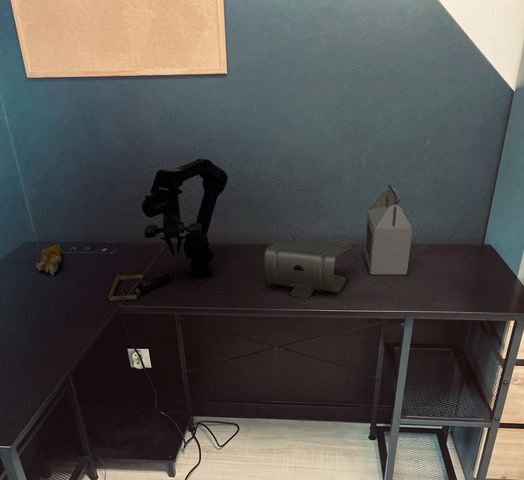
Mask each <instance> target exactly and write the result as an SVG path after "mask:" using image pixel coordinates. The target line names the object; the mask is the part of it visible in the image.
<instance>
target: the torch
mask: <svg viewBox="0 0 524 480" xmlns="http://www.w3.org/2000/svg"><path fill="white" fill-rule="evenodd" d="M41 251H42V252H41V253H40V257H41V258H40V259H39V261H38V262H37V263H35V266H36V268H37V270H38V271H46V274H47V273H49V274H50V275H51V276H54V274H55V272H57V270H58V268H59V265H60V264H61V262H62V248H61V245H60V244H53V245H51V246H48V247H47V248H42V250H41Z"/></svg>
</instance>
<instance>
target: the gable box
mask: <svg viewBox="0 0 524 480" xmlns="http://www.w3.org/2000/svg"><path fill="white" fill-rule="evenodd" d="M394 187H395V186H393V187H392V185H391V184H388V185H387V190H386V191H384V192H382V193H381V194H380V196H379V197H378V198H377V199H376V200H375V202H374V203H373V204H372V205H371V206H370V208H369V209H368V210H367V215H366V216H367V217H366V226H365V227H366V228H365V229H366V230H365V241H364V253H363V254H364V257H365V261H366V264H367V268H368V271H369V275H380V276H381V275H383V276H384V275H388V276H389V275H390V276H391V275H395V276H396V275H398V276H399V275H404V276H406V275H407V274H408V268H409V267H408V266H409V259H410V252H411V243H412V235H413V227H412V225H411V223H410V221H409V220H408V218H407V216H406V214H405V212H404V210H403V209H402V207H401V206H400V204H399V203H400V201H401V197H400V196H399V194H398V192H397V190H396V189H395V188H394Z"/></svg>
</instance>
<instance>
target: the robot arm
mask: <svg viewBox="0 0 524 480" xmlns="http://www.w3.org/2000/svg"><path fill="white" fill-rule="evenodd" d="M197 176H199V177H200V178H201V179H202V188H203V195H202V199H201V203H200V206H199V210H198V213H197V217H196V220H195V222H190V223H188V226H185V222H184V221H182V219H181V208H180V199H179V195H180V194H183V190H182V189H180V187H182V186H183V184H184V182H186V181H188V180H190V179H192V178H194V177H197ZM228 179H229V177H228V175H227V172H226V171H225V170H223V169H222V168H221V167H219V166H218V165H216V164H214V163H213V162H212V161H211V160H209V159H208V158H197V159H195V160H194V161H191V162H188V163H186V164H184V165H183V164H182V165H181V166H178V167H175V168H161V169H159V170H157V171H156V173H155V176H154V179H153V182H152V186H151V189H150V192H149V193H150V194H146V195H145V196H144V198H145V199H144V200H143V201H142V203H141V210H142V213H143V214H144V215H145V216H146V217H147V218H155V217H157V216H159V215H162V219H163V221H162V227H159V226H158V224H147V225H146V226H145V228H144V231H143V233H144V238H146V239H153V238H155V237H156V236H157V234H159V235H160V240H163V241H165V243H166V244H167V246H168V248H169V250H170V252H171V254H172V255H173V256H174V255H175V248H174V243H173V239H176V240H177V241H176V253H177V256H178V255H180V251H181V246H182V244H183V251H184V254H185V256H186V259H190V260H191V261H190V263H189V264H190V265H189V266H190V274H191V277H192V278H210V277H211V269H210V262H212V260H213V259H214V252H213V251H212V250H211V249H210V248H209V246H210V242H209V238H208V232H209V229H210V224H211V222H212V218H213V215H214V210H215V208H216V203H217V200H218V197H219V196H220V195H221V194H222V193H223V191H225V188H226V186H227V184H228ZM183 240H184V241H183ZM182 242H183V243H182Z"/></svg>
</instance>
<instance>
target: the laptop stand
mask: <svg viewBox="0 0 524 480" xmlns="http://www.w3.org/2000/svg"><path fill="white" fill-rule="evenodd" d="M351 247H352V244H349V240H343V241H342V243H334V242H333V243H332V242H325V241H324V242H322V241H314V240H305V239H296V238H295V239H293V235H292V234H287V235H286V238H281V239H280V240H278V241H275V242H274V243H273V244H271V245H269V246H267V247H266V249H265V251H264V252H265V253H264V275H265V280H266V283H267V284H269V285H276V286H286V287H293V288H292V289H291V291H290V293H289V295H290V296H292V297H298V298H305V299H306V298H310V297H311V296H312V295H313V293H314V292H315V290H317V291H325V292H330V293H339V292H340V291H341V290H342V288H343V287H344V285H345V283H346V281H347V279H346V277H345V276H342V275H339V274H334V272H335V271H334V270H335V262H336V258H337V257H338V256H339V255H341V254H342V253H344V252H345V251H347V250H348V249H350V248H351ZM296 266H299V267H301V268H302V270H299V269H294V268H295V267H296Z"/></svg>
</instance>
